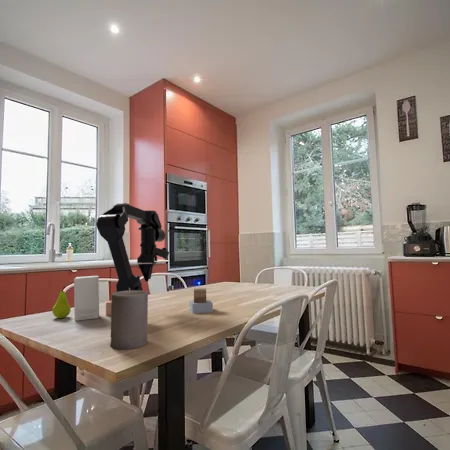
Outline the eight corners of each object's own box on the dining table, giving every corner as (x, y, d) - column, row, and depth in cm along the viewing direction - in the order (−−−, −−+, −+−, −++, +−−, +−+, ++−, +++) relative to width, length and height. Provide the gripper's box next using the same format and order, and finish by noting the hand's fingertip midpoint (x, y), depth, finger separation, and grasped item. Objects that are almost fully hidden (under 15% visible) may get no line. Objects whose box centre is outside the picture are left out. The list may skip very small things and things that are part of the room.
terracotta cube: (119, 314, 121) (119, 301, 121) (105, 315, 119) (106, 302, 119) (118, 312, 125) (118, 299, 126) (105, 313, 123) (105, 301, 124)
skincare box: (99, 315, 119) (99, 275, 121) (98, 319, 113) (98, 276, 114) (75, 317, 117) (76, 276, 118) (73, 321, 110) (73, 277, 112)
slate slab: (212, 313, 122) (212, 302, 122) (192, 314, 120) (192, 304, 120) (208, 309, 129) (208, 299, 130) (189, 310, 127) (189, 300, 128)
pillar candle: (102, 347, 80) (103, 289, 81) (127, 336, 89) (128, 284, 90) (131, 352, 76) (132, 291, 77) (155, 340, 85) (155, 286, 86)
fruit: (48, 319, 115) (48, 286, 116) (63, 315, 121) (64, 284, 121) (59, 320, 112) (59, 287, 113) (74, 317, 118) (74, 285, 119)
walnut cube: (206, 302, 122) (206, 290, 123) (193, 303, 122) (193, 290, 122) (206, 300, 127) (206, 288, 128) (194, 300, 127) (194, 288, 127)
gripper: (167, 240, 116) (167, 281, 115) (168, 241, 135) (169, 277, 134) (137, 241, 115) (137, 283, 114) (143, 242, 133) (143, 278, 132)
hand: (148, 280), depth 123 cm, fingers open, 9 cm apart
